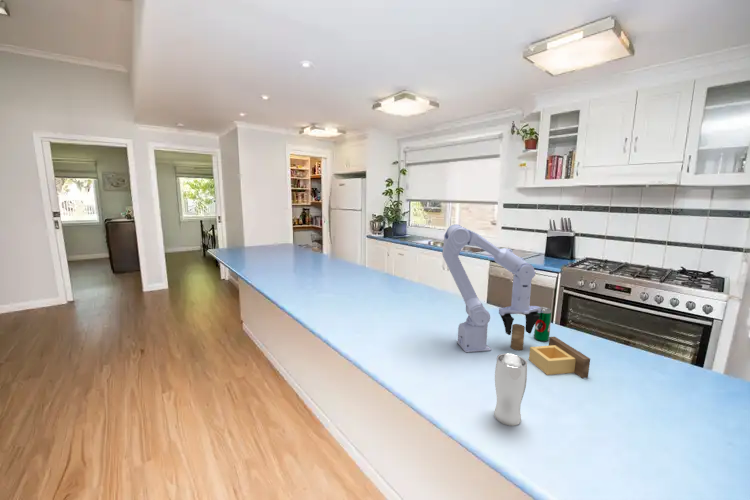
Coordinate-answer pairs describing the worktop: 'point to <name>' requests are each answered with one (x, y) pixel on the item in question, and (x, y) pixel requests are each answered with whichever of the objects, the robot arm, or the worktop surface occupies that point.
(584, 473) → the worktop surface
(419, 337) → the worktop surface
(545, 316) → the soda can
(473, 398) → the worktop surface
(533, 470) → the worktop surface
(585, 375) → the walnut wall
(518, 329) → the dowel
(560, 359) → the socket block
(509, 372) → the beer glass
